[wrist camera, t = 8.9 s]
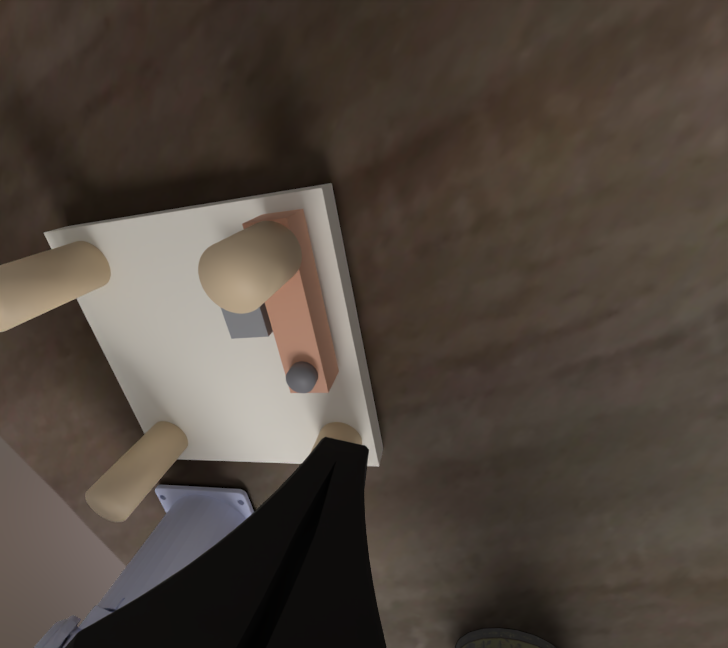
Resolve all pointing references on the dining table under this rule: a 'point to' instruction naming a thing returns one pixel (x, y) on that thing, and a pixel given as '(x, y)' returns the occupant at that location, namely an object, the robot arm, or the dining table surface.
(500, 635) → the thermos
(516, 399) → the dining table surface
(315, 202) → the stool seat
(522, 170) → the dining table surface
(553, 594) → the dining table surface
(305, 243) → the folding leg
